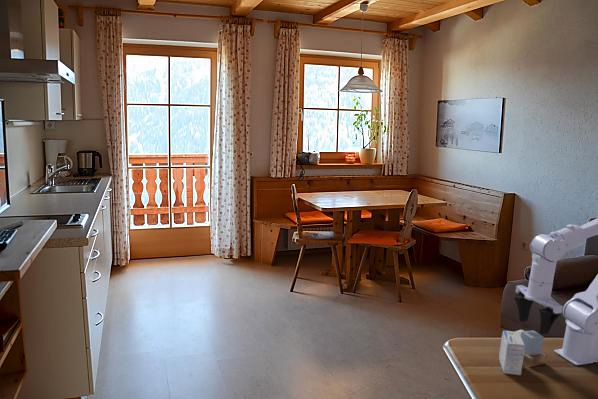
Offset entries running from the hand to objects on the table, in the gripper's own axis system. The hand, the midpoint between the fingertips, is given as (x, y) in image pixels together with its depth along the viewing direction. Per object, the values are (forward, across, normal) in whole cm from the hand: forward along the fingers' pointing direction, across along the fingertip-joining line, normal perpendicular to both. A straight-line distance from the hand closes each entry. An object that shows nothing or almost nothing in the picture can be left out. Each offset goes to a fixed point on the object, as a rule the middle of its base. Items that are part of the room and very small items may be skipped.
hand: (533, 327), depth 143 cm
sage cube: (+10, -7, +4) cm, 13 cm away
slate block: (+7, 0, 0) cm, 7 cm away
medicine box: (+10, +2, -8) cm, 13 cm away
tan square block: (+10, 0, 0) cm, 10 cm away
